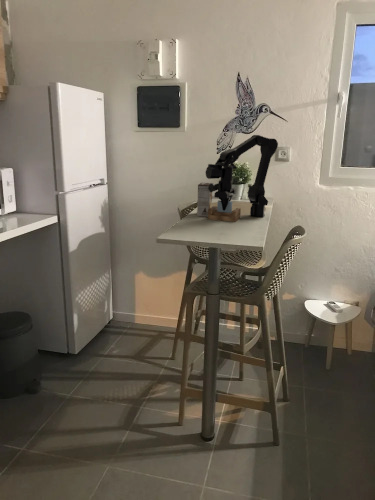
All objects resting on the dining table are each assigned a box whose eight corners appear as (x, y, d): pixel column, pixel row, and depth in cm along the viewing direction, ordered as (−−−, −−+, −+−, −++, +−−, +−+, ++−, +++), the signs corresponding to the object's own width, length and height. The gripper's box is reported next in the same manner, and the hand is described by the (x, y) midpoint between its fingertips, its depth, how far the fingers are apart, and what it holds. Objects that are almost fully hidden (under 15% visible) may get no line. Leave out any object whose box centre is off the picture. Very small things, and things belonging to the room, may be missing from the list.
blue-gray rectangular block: (231, 213, 198) (232, 201, 196) (230, 214, 196) (231, 202, 194) (218, 212, 200) (218, 200, 198) (217, 213, 198) (217, 201, 196)
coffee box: (199, 212, 212) (200, 182, 207) (211, 213, 211) (213, 183, 206) (196, 215, 203) (197, 184, 199) (209, 216, 202) (210, 185, 197)
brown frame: (240, 218, 201) (240, 208, 199) (235, 221, 192) (236, 211, 190) (213, 215, 205) (213, 205, 204) (207, 219, 196) (208, 209, 195)
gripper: (215, 175, 204) (214, 205, 208) (204, 179, 187) (203, 211, 191) (237, 176, 200) (235, 207, 205) (227, 180, 183) (225, 213, 188)
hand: (224, 209), depth 197 cm, fingers closed on blue-gray rectangular block, 2 cm apart
